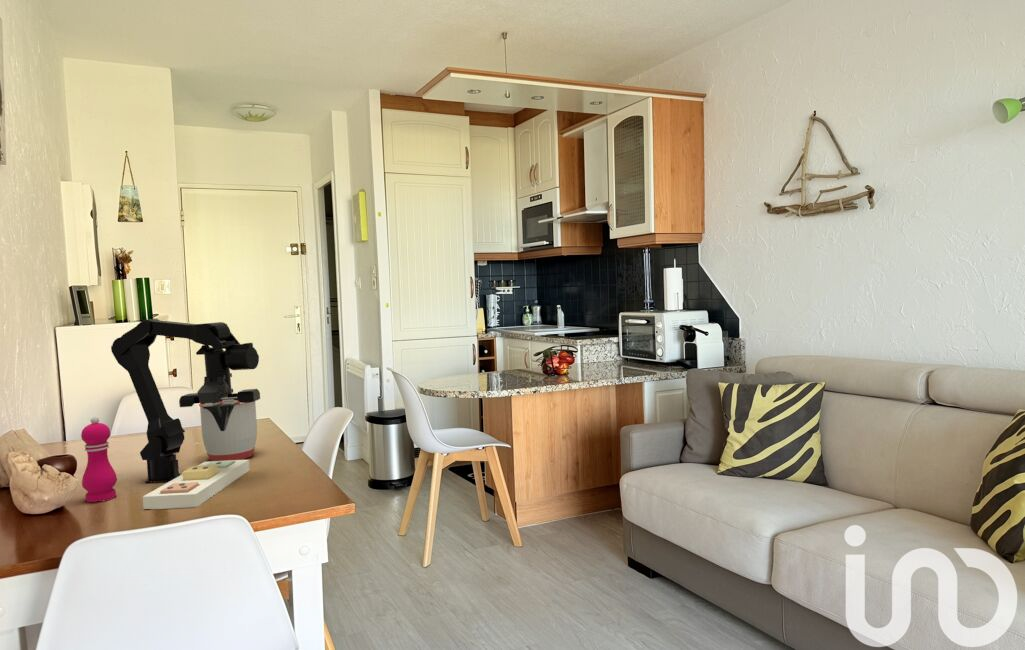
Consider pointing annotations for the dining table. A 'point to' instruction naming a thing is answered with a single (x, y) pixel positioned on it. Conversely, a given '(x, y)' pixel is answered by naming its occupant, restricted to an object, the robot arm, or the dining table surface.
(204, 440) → the citrus juicer
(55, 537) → the dining table surface
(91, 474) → the pepper mill
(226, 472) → the rail
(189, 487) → the three-pip tile
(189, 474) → the tile
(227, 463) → the tile
